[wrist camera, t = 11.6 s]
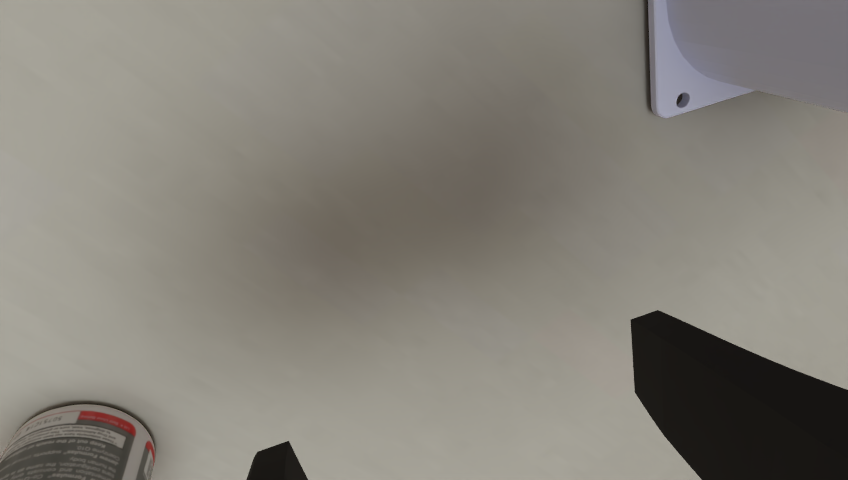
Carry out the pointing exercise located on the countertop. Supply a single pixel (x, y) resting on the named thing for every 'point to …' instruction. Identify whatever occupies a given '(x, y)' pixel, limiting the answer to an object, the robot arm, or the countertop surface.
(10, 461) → the pill bottle
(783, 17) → the robot arm
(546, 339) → the countertop surface
